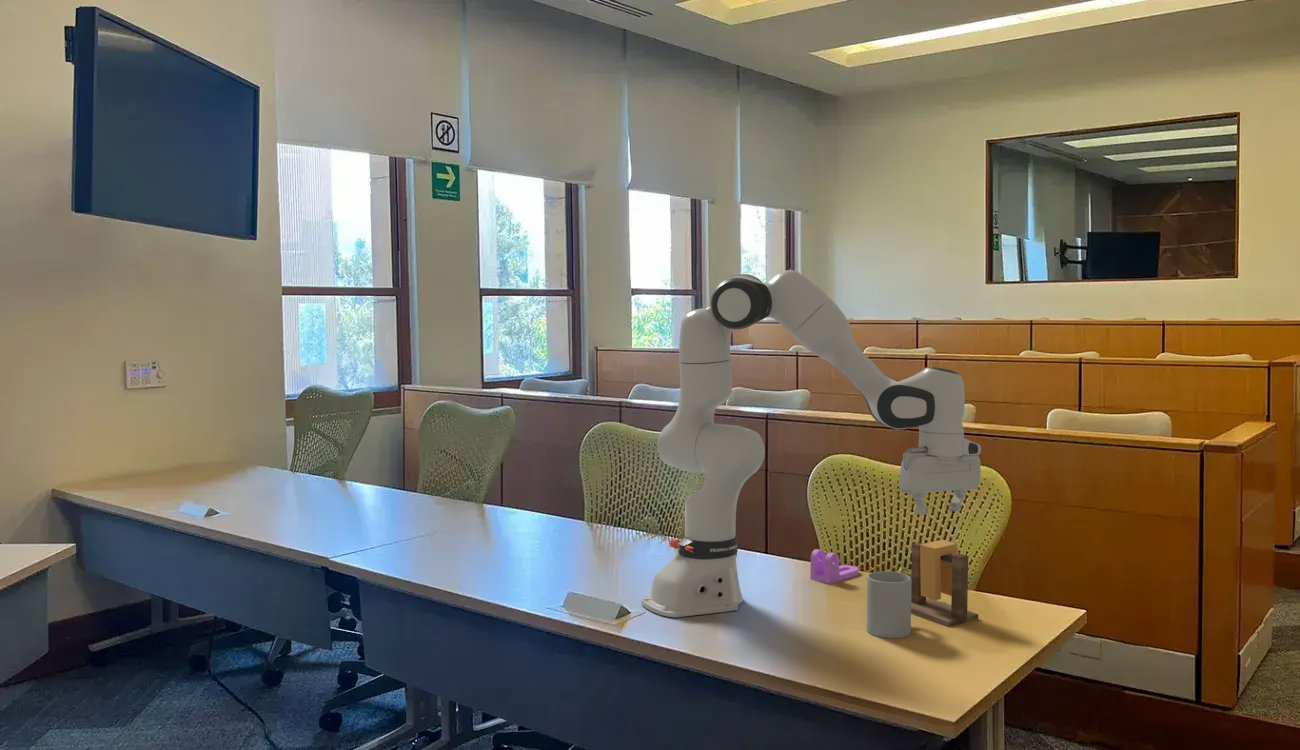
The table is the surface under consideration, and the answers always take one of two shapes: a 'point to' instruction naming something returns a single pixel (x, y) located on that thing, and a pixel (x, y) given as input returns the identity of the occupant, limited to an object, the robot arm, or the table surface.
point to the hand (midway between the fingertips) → (938, 512)
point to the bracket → (829, 568)
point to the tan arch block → (936, 569)
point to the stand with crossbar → (935, 608)
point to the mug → (888, 604)
